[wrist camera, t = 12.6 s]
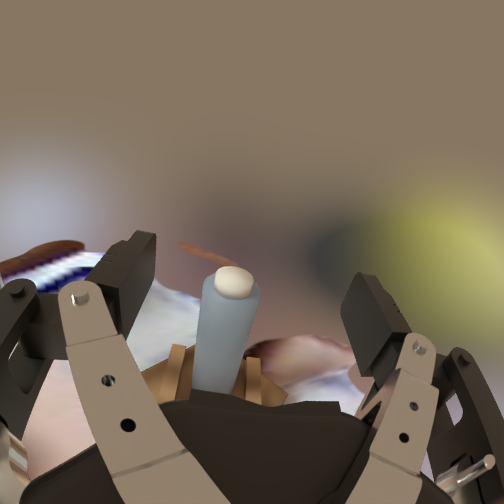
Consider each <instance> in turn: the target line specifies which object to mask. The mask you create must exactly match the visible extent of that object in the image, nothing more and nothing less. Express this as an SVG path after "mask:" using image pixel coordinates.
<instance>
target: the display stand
mask: <svg viewBox="0 0 504 504" xmlns="http://www.w3.org/2000/svg"><path fill="white" fill-rule="evenodd" d="M195 346H196V344H195V345H193V346H191V347H190V348H188V349H186V346H182V345H177V344H173V345H172V348H171V352H170V355H169V358H168V359H166V360H164V361H162V362H160V363H158V364H156V365H154V366H152V367H150V368H148V369H146V370H144V371H142V372H141V374H142V376H143V378H144V380H145V382H146V384H147V386H148V388H149V390H150V392H151V393H152V395H153V397H154V399H155V401H156V402H157V404H160V403H163V402H167V401H171V400H178V399H189V397H190V391H191V384H192V374H193V364H194V355H195ZM231 395H233V396H236V397H239V398H242V399H245V400H248V401H251V402H254V403H257V404H260V405H264V406H267V407H275V406H281V405H283V403H284V401H285V400H286V398H287V396H288V394H287V393H286V392H285V391H283V390H282V389H281V388H279V387H278V386H277V385H276V384H274V383H273V382H272V381H270V380H269V379H268V378H267V377H265V376H264V375H263V374H262V373H261V367H260V358H252V357H247V358H246V360H245V359H243V358H242V361H241V364H240V368H239V371H238V374H237V378H236V381H235V384H234V387H233V391H232V394H231Z"/></svg>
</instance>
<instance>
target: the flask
mask: <svg viewBox="0 0 504 504" xmlns="http://www.w3.org/2000/svg"><path fill="white" fill-rule="evenodd" d="M260 296H261V291H260V289H259V287H258V285H257V284H256V283H255V282H254V281H253V277H252V275H251V274H250V273H249V272H247V271H246V270H244V269H241V268H238V267H233V266H227V267H222V268H220V269H218V270H217V272H216V273H214V274H212V275H210V276H208V277H207V278H206V279H205V281H204V283H203V290H202V298H201V305H200V313H199V321H198V329H197V337H196V346H195V355H194V364H193V374H192V384H191V388H192V389H198V390H204V391H210V392H216V393H223V394H230V395H231V394H232V391H233V387H234V384H235V381H236V378H237V374H238V371H239V368H240V364H241V361H242V358H243V354H244V351H245V348H246V344H247V341H248V337H249V334H250V331H251V327H252V324H253V320H254V317H255V313H256V310H257V306H258V303H259V300H260Z"/></svg>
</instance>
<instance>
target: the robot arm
mask: <svg viewBox="0 0 504 504" xmlns="http://www.w3.org/2000/svg"><path fill="white" fill-rule="evenodd" d="M155 257H156V234H155V233H150V232H144V231H139V230H137V231H136V232H135V233H134V234H133V235H132V237H131V238H130V239H129V240H128V241H124V240H121V241H120V242H118V243H116V244H114V245H112V246H111V247H110V248H109V250H108V251H107V252H106V254H104V256H103V257H102V258H101V260H100V261H99V262H98V263H97V264H96V265H95V267H94V268H93V269H92V271H91V272H90V273H89V274H88V276H87V277H86V278H85V280H84V281H74V282H71V283H69V284H67V285H65V286H64V287H63V288H62V289H61V290H60V292H59V294H38V292H37V289H36V285H35V284H34V282H32V281H31V280H29V279H15V280H12V281H10V282H9V283H7V284H6V285H4V283H3V280H2V276H1V273H0V504H504V419H503V417H502V415H501V412H500V410H499V408H498V406H497V403H496V401H495V399H494V397H493V395H492V393H491V391H490V389H489V387H488V385H487V383H486V381H485V379H484V377H483V375H482V373H481V371H480V369H479V367H478V365H477V364H476V362H475V360H474V359H473V357H472V356H471V355H470V353H468V352H467V351H466V350H464V349H462V348H459V347H456V348H453V350H452V351H451V352H450V353H449V355H448V356H444V355H441V354H437V353H436V350H435V347H434V346H433V344H432V343H431V342H430V341H429V340H428V339H427V338H426V337H424V336H422V335H420V334H417V333H412V331H411V329H410V327H409V325H408V324H407V322H406V320H405V318H404V317H403V315H402V313H400V310H399V308H398V306H396V303H395V301H394V300H393V298H392V297H391V295H390V294H389V293H388V292H386V290H384V289H383V287H382V285H381V284H380V282H379V280H378V279H377V277H376V276H375V275H371V274H366V273H361V272H358V273H356V274H355V276H354V278H353V280H352V282H351V285H350V287H349V289H348V291H347V293H346V295H345V297H344V300H343V302H342V304H341V318H342V321H343V323H344V326H345V329H346V332H347V335H348V338H349V341H350V344H351V347H352V349H353V352H354V355H355V359H356V362H357V365H358V368H359V370H360V374H361V377H371V376H372V377H374V380H373V382H372V383H371V384H370V386H369V388H368V390H367V392H366V394H365V396H364V398H363V400H362V402H361V404H360V406H359V408H358V410H357V412H356V414H355V415H354V416H352V415H350V414H346V413H344V412H341V409H340V405H339V401H303V402H298V403H292V404H287V405H281V406H275V407H267V406H264V405H260V404H257V403H254V402H251V401H248V400H245V399H242V398H239V397H236V396H233V395H230V394H223V393H216V392H210V391H204V390H198V389H192V388H191V391H190V397H189V399H178V400H171V401H167V402H163V403H160V404H157V402H156V401H155V399H154V397H153V395H152V393H151V392H150V390H149V388H148V386H147V384H146V382H145V380H144V378H143V376H142V374H141V372H140V370H139V368H138V366H137V364H136V362H135V360H134V358H133V356H132V354H131V352H130V350H129V347H128V345H127V343H126V340H127V337H128V335H129V333H130V330H131V328H132V326H133V324H134V321H135V319H136V317H137V315H138V312H139V310H140V308H141V306H142V304H143V302H144V299H145V297H146V295H147V293H148V291H149V289H150V287H151V285H152V282H153V279H154V274H155ZM17 342H18V345H17V346H16V348H15V350H14V352H13V353H12V355H11V357H10V359H9V356H10V354H11V352H12V350H13V349H14V347H15V345H16V344H17ZM54 359H56V360H69V364H70V368H71V372H72V375H73V379H74V382H75V386H76V389H77V392H78V395H79V398H80V401H81V404H82V407H83V410H84V413H85V416H86V418H87V421H88V424H89V426H90V429H91V431H92V434H93V436H94V439H95V441H96V443H95V444H94V445H92V446H90V447H89V448H87V449H86V450H84V451H82V452H81V453H79V454H77V455H76V456H74V457H72V458H71V459H69V460H67V461H66V462H64V463H62V464H60V465H59V466H57V467H55V468H53V469H52V470H50V471H48V472H46V473H44V474H43V475H41V476H39V477H37V478H35V479H34V480H33V481H31V482H30V480H29V478H28V474H27V469H28V465H27V464H28V457H27V452H26V449H25V447H24V446H23V444H22V443H21V440H22V437H23V434H24V431H25V428H26V425H27V422H28V420H29V417H30V414H31V412H32V409H33V406H34V404H35V401H36V399H37V396H38V394H39V392H40V389H41V387H42V385H43V382H44V380H45V378H46V375H47V373H48V371H49V369H50V367H51V365H52V362H53V360H54ZM455 393H456V394H457V396H458V399H459V401H460V403H461V406H462V408H463V415H462V418H461V420H460V421H459V422H458V423H457V424H456V425H455V426H454V425H453V422H452V419H451V417H450V414H449V411H448V409H447V406H446V402H447V401H448V400H449V399H450V398H451V397H452V396H453V395H454V394H455ZM426 449H427V453H428V457H429V461H430V465H431V469H432V473H433V478H434V482H435V483H433V481H431V480H430V479H429V478H428V477H427V476H426V475H424V474H423V473H422V472H421V471H420V469H421V466H422V462H423V459H424V456H425V452H426Z"/></svg>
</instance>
